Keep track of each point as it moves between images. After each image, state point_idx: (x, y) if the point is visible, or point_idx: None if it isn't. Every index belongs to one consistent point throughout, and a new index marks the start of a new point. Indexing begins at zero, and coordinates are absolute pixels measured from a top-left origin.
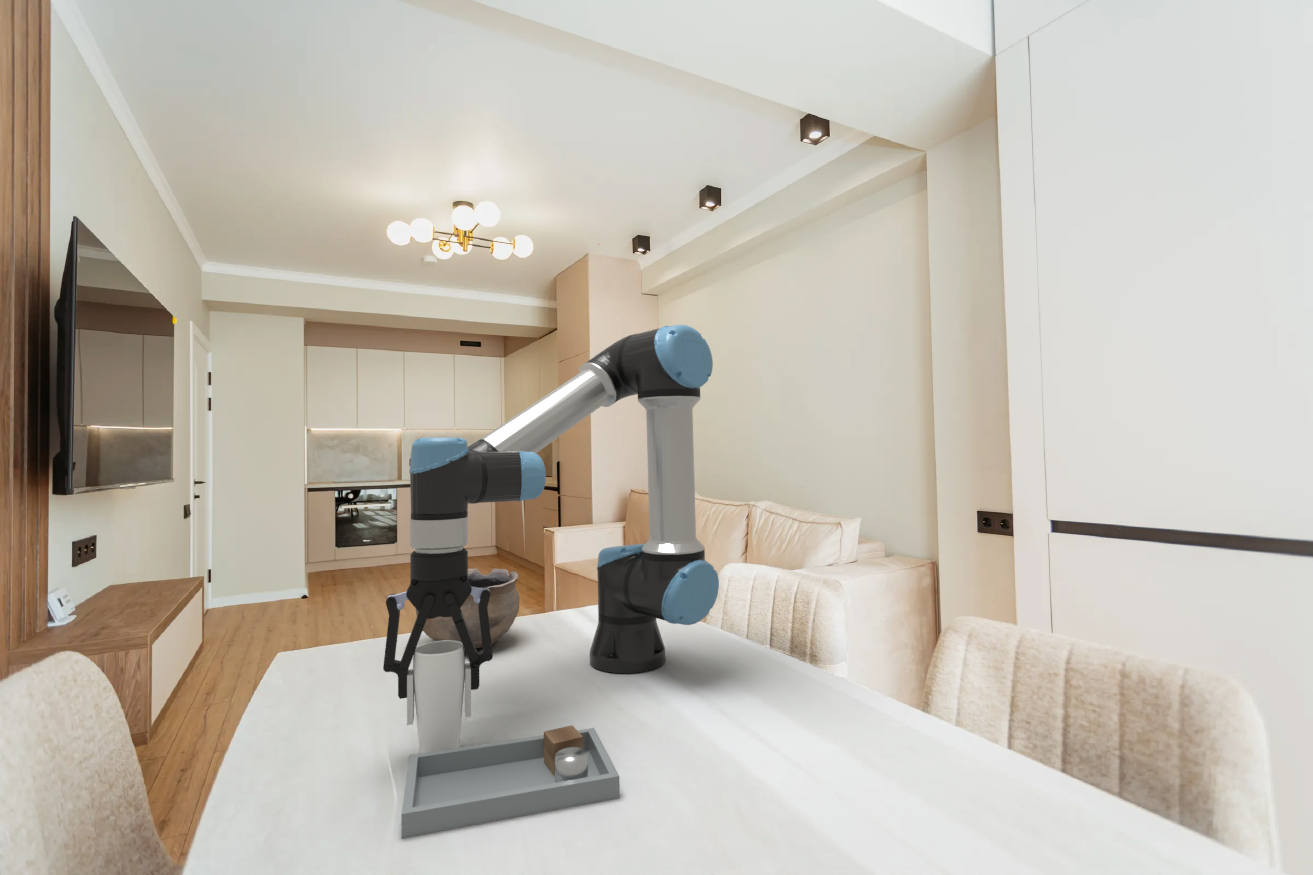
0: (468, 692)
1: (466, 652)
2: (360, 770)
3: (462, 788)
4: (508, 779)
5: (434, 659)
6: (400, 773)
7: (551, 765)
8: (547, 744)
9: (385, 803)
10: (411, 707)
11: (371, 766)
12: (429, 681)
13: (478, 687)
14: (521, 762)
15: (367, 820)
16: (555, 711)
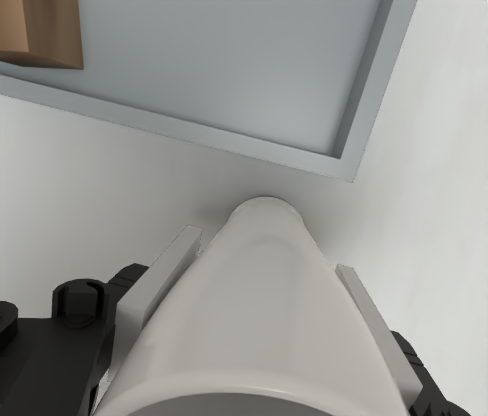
0: (170, 254)
1: (81, 386)
2: (409, 265)
3: (264, 49)
4: (168, 32)
5: (331, 364)
6: (347, 210)
7: (68, 2)
8: (42, 22)
9: (407, 102)
10: (355, 289)
11: (387, 269)
12: (331, 285)
13: (130, 265)
14: (127, 97)
15: (458, 50)
16: (22, 292)
